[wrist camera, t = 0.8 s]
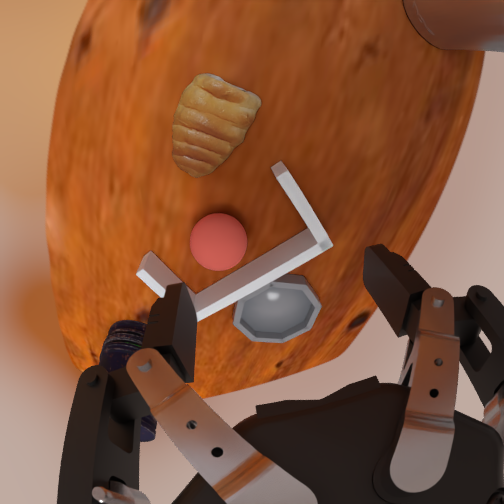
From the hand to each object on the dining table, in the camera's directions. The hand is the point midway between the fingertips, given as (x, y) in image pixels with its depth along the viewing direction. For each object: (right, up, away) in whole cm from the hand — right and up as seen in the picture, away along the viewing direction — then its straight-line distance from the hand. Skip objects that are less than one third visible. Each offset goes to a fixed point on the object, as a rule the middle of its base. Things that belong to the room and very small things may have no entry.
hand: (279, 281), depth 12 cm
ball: (-5, +4, +17) cm, 18 cm away
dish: (+2, -6, +23) cm, 24 cm away
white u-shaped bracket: (-3, +2, +18) cm, 18 cm away
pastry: (-5, +13, +11) cm, 18 cm away
